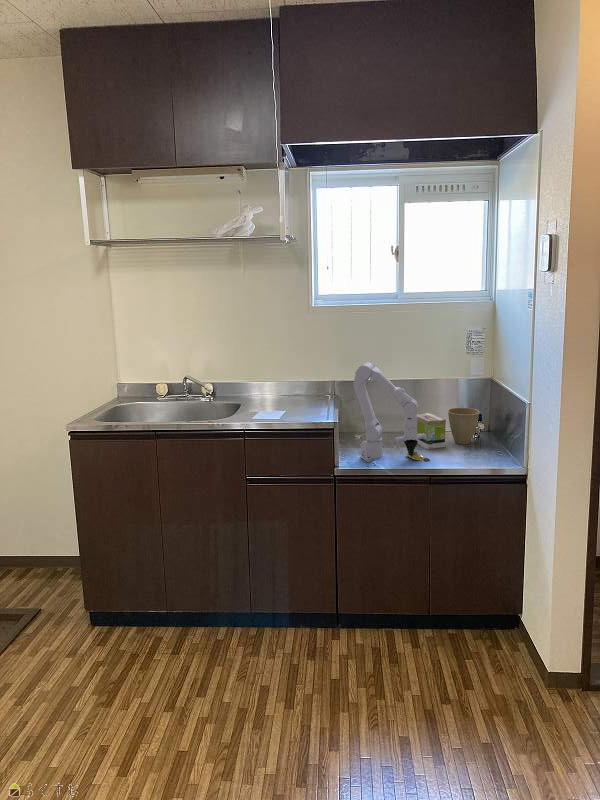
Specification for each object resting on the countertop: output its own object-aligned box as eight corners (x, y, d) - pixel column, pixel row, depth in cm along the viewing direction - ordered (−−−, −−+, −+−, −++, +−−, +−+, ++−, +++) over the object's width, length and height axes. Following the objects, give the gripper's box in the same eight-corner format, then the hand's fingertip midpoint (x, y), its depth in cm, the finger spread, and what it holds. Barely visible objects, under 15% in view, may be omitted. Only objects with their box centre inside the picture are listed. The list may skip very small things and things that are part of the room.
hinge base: (425, 464, 269) (425, 458, 268) (411, 456, 280) (411, 451, 279) (443, 461, 272) (443, 456, 271) (429, 453, 283) (429, 448, 282)
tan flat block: (413, 459, 268) (414, 455, 268) (404, 454, 276) (405, 450, 276) (426, 462, 271) (427, 458, 271) (417, 456, 279) (418, 453, 279)
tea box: (445, 449, 289) (446, 419, 286) (427, 451, 286) (427, 421, 283) (429, 440, 303) (430, 412, 300) (411, 443, 300) (412, 414, 297)
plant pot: (477, 447, 289) (479, 415, 286) (445, 445, 294) (446, 414, 290) (478, 438, 303) (480, 408, 299) (448, 437, 307) (449, 406, 304)
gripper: (400, 430, 263) (400, 460, 266) (429, 426, 268) (429, 455, 271) (392, 426, 270) (392, 455, 273) (421, 422, 274) (421, 451, 277)
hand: (410, 455), depth 272 cm, fingers closed, pressing on tan flat block
